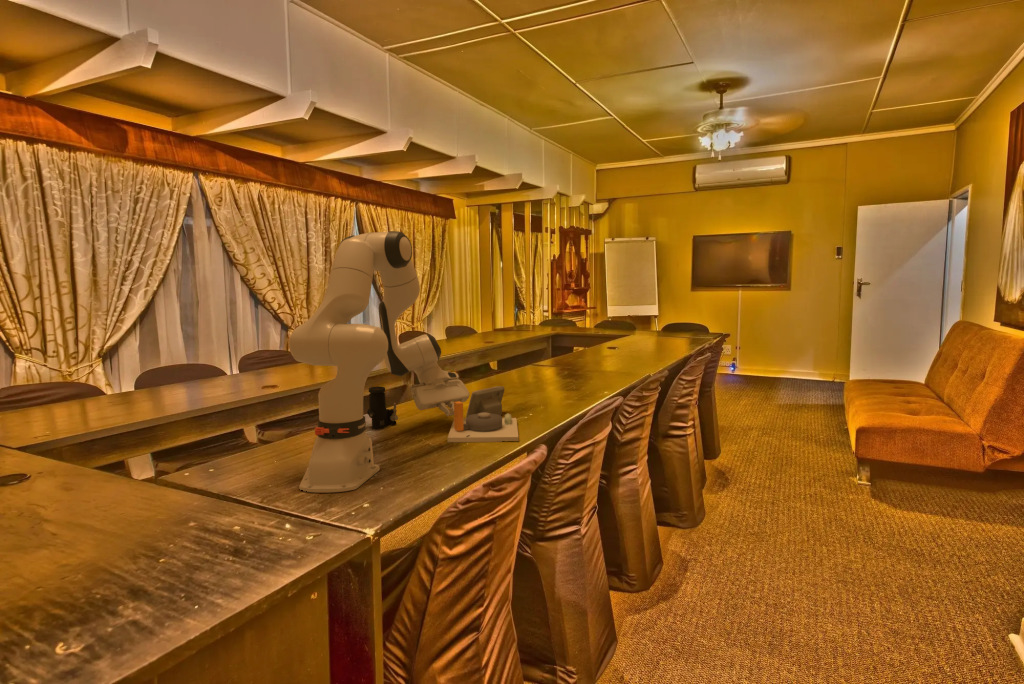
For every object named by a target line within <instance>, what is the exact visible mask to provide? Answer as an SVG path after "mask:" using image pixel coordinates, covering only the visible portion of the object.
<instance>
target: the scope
mask: <svg viewBox="0 0 1024 684" xmlns="http://www.w3.org/2000/svg"><path fill="white" fill-rule="evenodd" d="M385 392H386V387H385V386H371V387H369V388H368V393H369V394H368V395H369V396H368V397H369V398H368V406H369V407H368V409H367V415H368V416H369V418H370V419H371V429H372V430H383V429H385V427H386V428H387V427H388V426H395V425H397V421H398V419H399V416H398V415H397V411H398V410H397V403H396V402H394V403H393V404H392V405H393V408H390V409H389V408H387V405H386V404H387V403H386V393H385Z"/></svg>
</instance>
